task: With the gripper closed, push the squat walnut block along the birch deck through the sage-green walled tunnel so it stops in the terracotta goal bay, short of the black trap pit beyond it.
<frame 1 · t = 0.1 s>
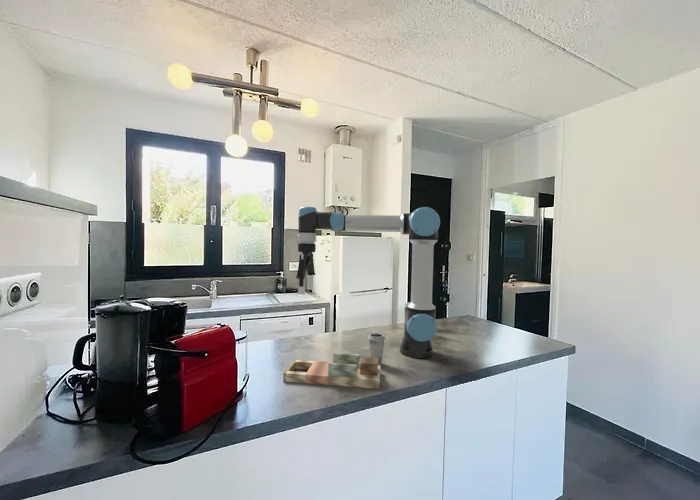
hand: (306, 291, 135), 28 cm above the worktop, fingers open, 13 cm apart
cup: (375, 364, 128), on the worktop
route: (333, 377, 114), on the worktop
block: (369, 371, 113), point 3 cm above the worktop, touching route
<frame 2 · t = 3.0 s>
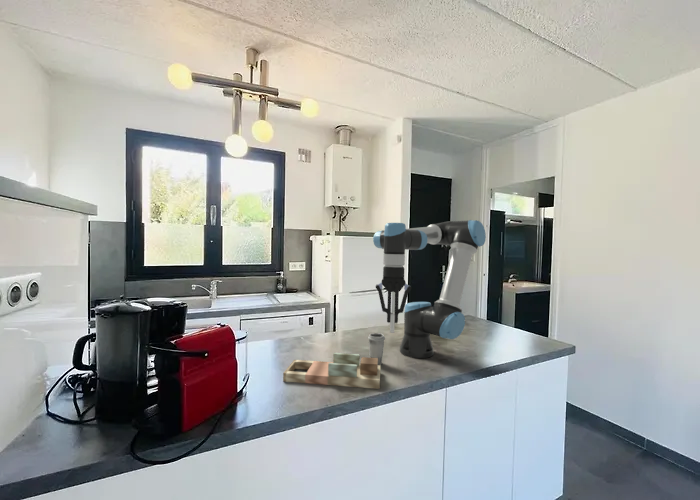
hand: (392, 331, 111), 18 cm above the worktop, fingers closed
nothing on the worktop moved.
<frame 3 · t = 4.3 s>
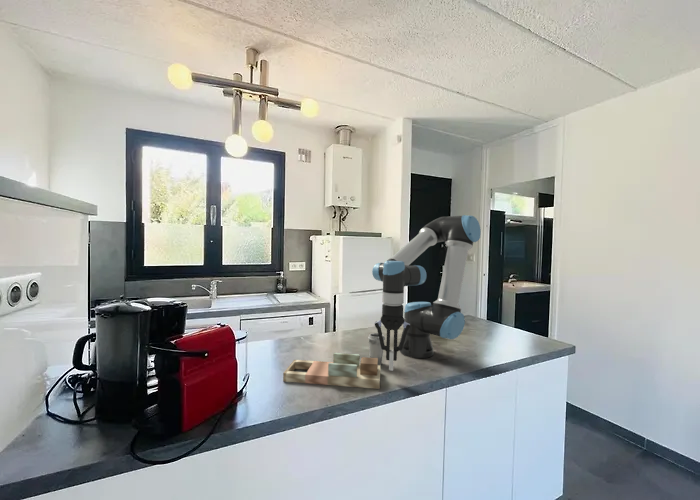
hand: (391, 369, 112), 5 cm above the worktop, fingers closed
nothing on the worktop moved.
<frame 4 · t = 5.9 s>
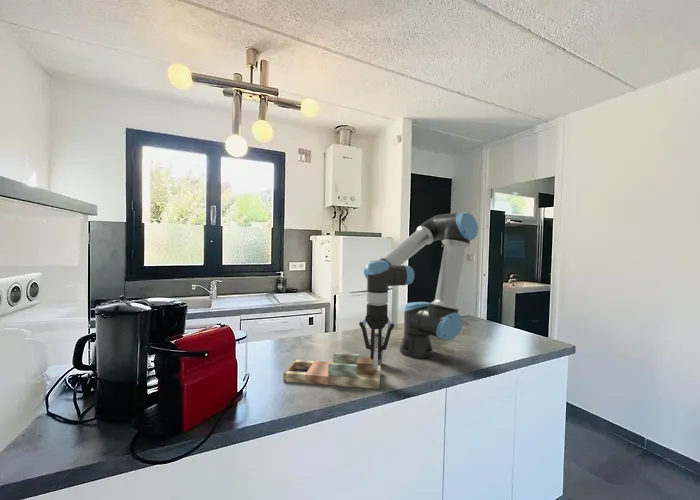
hand: (375, 368, 112), 4 cm above the worktop, fingers closed
block: (365, 371, 113), point 3 cm above the worktop, touching gripper
everything else where it was.
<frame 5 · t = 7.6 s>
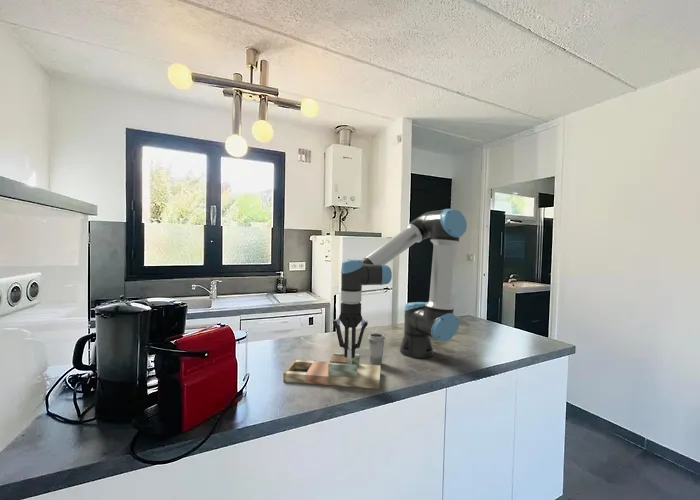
hand: (349, 366, 114), 5 cm above the worktop, fingers closed
block: (339, 369, 114), point 3 cm above the worktop, touching gripper
everything else where it was.
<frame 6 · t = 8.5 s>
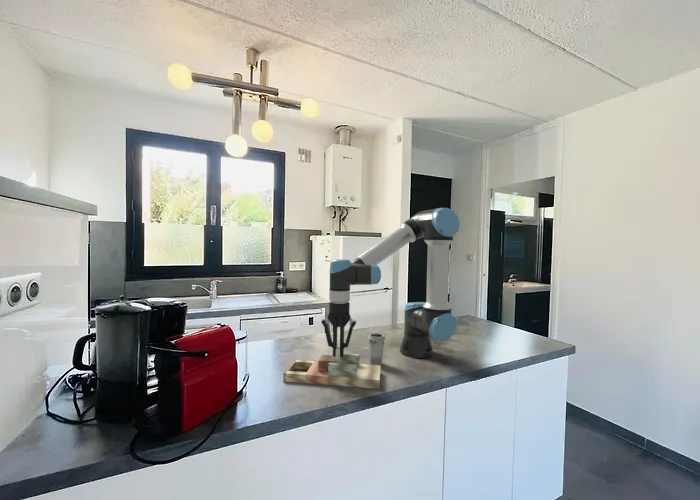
hand: (337, 365, 114), 4 cm above the worktop, fingers closed
block: (328, 368, 115), point 3 cm above the worktop, touching gripper, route
everything else where it was.
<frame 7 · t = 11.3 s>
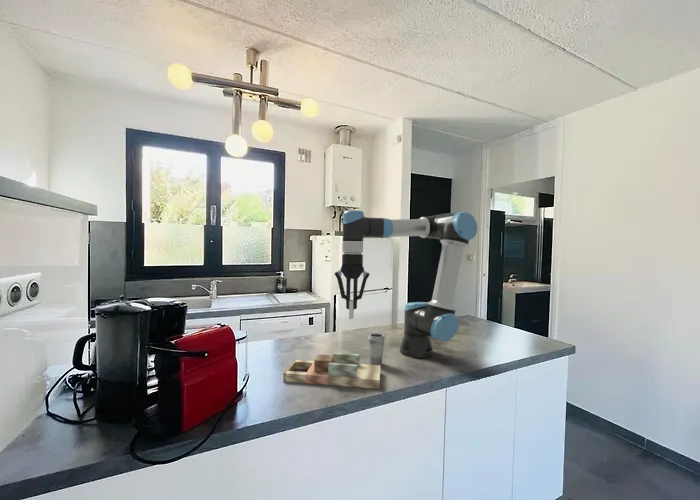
hand: (351, 317, 113), 22 cm above the worktop, fingers closed
block: (324, 368, 115), point 3 cm above the worktop, touching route
everything else where it was.
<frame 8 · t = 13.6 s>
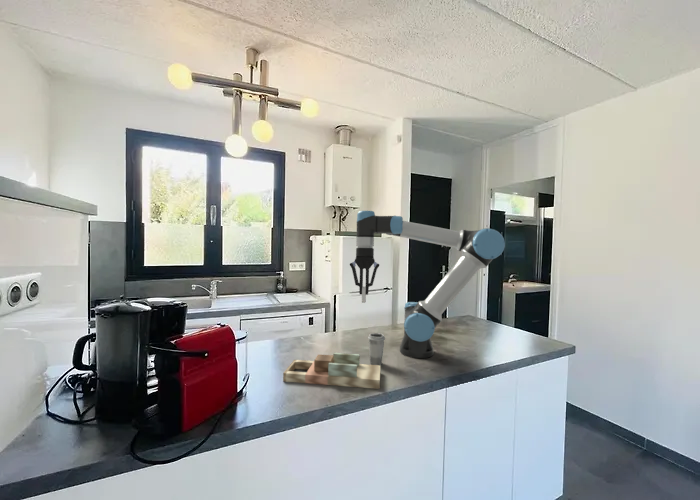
hand: (363, 302, 133), 24 cm above the worktop, fingers closed
nothing on the worktop moved.
at the end: block inside the target area on the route (1.4 cm from its centre), point 3.0 cm above the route's base; block tilted 1°; the gripper is holding nothing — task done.
